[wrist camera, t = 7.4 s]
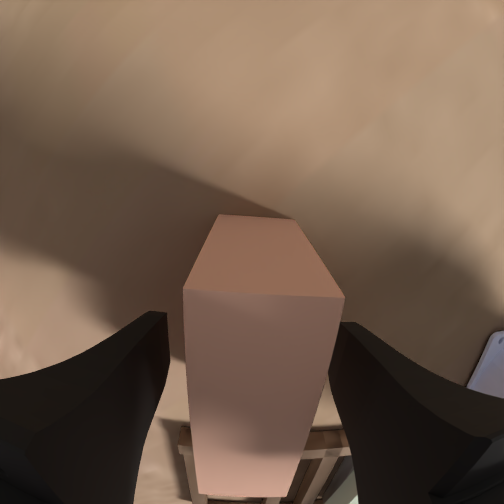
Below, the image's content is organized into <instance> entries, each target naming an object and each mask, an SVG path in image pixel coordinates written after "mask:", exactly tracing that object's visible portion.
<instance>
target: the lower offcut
mask: <svg viewBox="0 0 504 504" xmlns="http://www.w3.org/2000/svg"><path fill="white" fill-rule="evenodd" d="M353 470H354V467H353V462H352V456H351V455H347V456H345V457H344V459H343V461H342V463H341V465H340V467H339V469H338V471H337V472H336V474H335V476H334V478H333V479H332V481H331V483H330V485H329V486H328V488H327V490H326V491H325V493H324V495H323V496H322V498H323V504H324V503H325V502H326V501H327V500H328V499H329V498H330V497H331V496H332V495H333V494H334V493H335V491H336V490H337V489H338V488H339V487H340V486H341V485H342V483H343V482H344V481H345V480H346V479H347V478H348V476H349V475H350V474H351V473H352V472H353Z"/></svg>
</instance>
